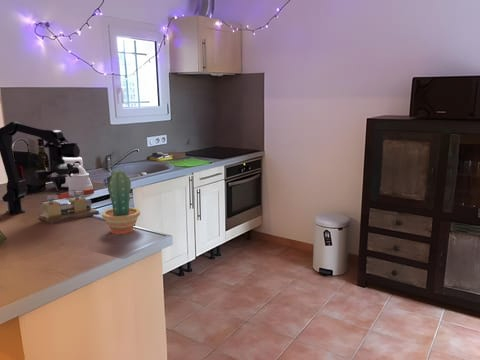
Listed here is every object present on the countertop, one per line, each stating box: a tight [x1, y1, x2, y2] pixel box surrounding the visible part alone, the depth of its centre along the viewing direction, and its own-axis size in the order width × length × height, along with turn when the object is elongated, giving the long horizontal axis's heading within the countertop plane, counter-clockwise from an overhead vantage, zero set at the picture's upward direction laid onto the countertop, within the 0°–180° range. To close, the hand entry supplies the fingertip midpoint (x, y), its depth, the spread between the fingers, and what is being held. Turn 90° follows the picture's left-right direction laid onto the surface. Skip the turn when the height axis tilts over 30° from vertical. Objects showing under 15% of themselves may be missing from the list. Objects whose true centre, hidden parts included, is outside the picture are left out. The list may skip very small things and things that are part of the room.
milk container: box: [57, 156, 84, 189], centre depth 243 cm, size 17×17×18 cm
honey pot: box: [68, 163, 94, 198], centre depth 225 cm, size 13×13×18 cm
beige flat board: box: [38, 207, 100, 225], centre depth 182 cm, size 13×22×2 cm, turn 138°
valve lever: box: [46, 191, 71, 202], centre depth 177 cm, size 9×3×2 cm, turn 138°
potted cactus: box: [101, 169, 141, 235], centre depth 160 cm, size 15×15×25 cm
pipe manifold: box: [41, 187, 95, 219], centre depth 182 cm, size 6×23×10 cm, turn 138°
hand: (58, 190), depth 183 cm, fingers closed
